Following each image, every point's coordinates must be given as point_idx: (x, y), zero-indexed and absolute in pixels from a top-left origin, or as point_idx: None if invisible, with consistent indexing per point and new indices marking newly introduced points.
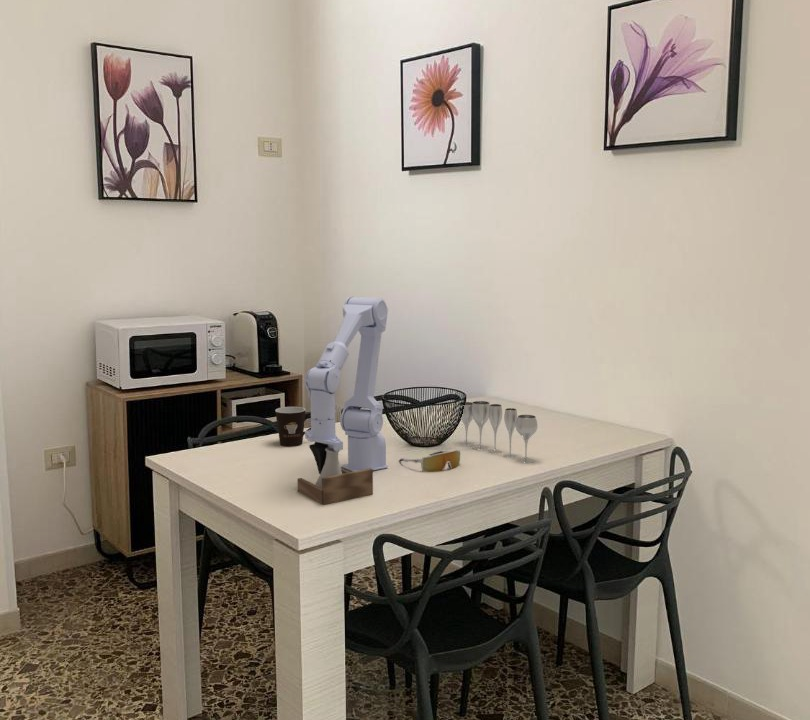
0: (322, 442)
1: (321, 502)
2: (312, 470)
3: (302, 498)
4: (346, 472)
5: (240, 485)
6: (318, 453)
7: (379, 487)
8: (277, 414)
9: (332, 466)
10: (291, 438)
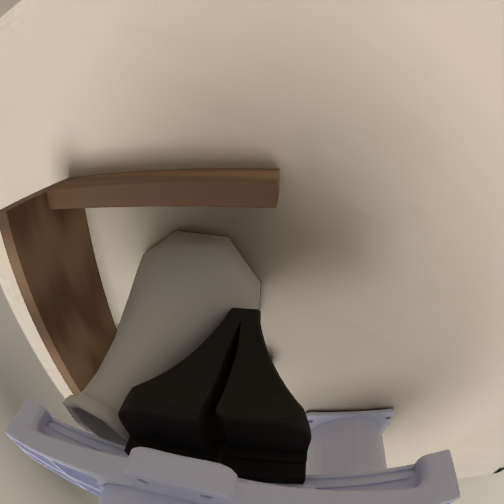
0: (79, 450)
1: (80, 177)
2: (447, 344)
3: (167, 136)
4: None
5: (491, 42)
6: (169, 383)
7: None
8: None
9: (112, 343)
10: None
